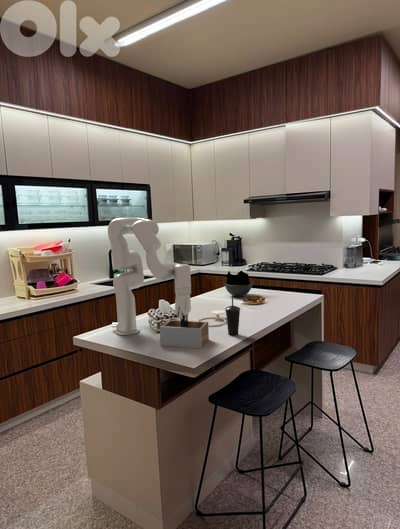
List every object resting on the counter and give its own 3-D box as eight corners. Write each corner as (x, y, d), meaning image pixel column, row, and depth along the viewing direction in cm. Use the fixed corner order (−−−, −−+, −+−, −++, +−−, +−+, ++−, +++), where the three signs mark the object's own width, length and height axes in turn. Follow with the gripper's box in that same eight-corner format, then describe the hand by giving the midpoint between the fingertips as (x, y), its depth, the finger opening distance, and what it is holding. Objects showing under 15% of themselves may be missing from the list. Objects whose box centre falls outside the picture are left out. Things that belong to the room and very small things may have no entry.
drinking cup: (239, 332, 189) (239, 293, 187) (241, 336, 182) (241, 297, 179) (224, 332, 189) (224, 294, 186) (226, 337, 181) (225, 297, 179)
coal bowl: (256, 295, 274) (256, 269, 272) (245, 300, 257) (244, 274, 255) (232, 292, 285) (232, 268, 282) (220, 298, 268) (219, 272, 265)
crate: (161, 344, 174) (160, 326, 173) (170, 337, 185) (169, 319, 184) (202, 347, 168) (201, 328, 167) (208, 339, 179) (208, 321, 178)
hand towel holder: (190, 317, 205) (208, 308, 222) (190, 325, 205) (208, 315, 223) (217, 321, 196) (234, 311, 214) (217, 329, 197) (234, 318, 214)
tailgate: (160, 345, 173) (159, 326, 172) (161, 344, 174) (160, 325, 173) (201, 348, 167) (200, 329, 166) (202, 347, 168) (201, 328, 167)
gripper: (180, 287, 181) (182, 323, 183) (169, 293, 167) (171, 332, 169) (195, 287, 179) (196, 324, 181) (185, 294, 164) (186, 333, 167)
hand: (184, 328), depth 175 cm, fingers closed
